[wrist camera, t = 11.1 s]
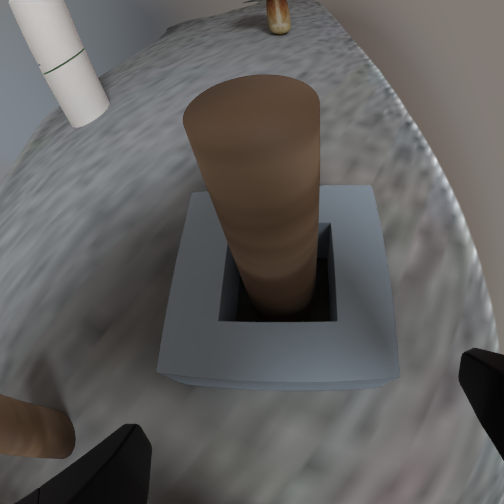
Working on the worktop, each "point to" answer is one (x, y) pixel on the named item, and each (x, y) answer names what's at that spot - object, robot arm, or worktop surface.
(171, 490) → the worktop surface
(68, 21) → the cylindrical container
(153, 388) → the worktop surface
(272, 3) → the decorative mushroom
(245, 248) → the tall walnut pin
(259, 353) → the sleeve block
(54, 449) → the short walnut pin
